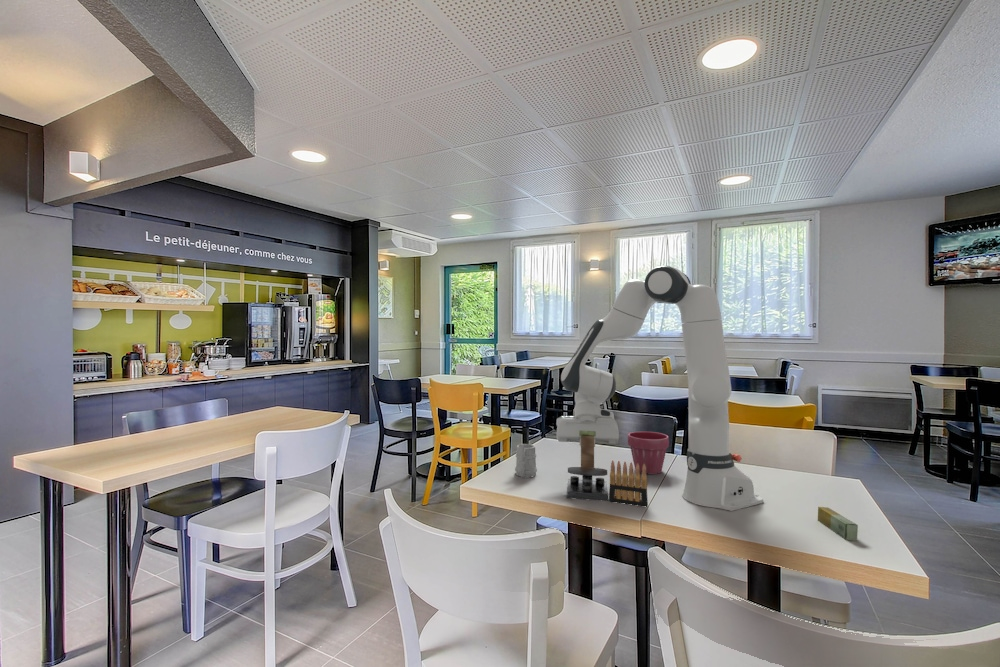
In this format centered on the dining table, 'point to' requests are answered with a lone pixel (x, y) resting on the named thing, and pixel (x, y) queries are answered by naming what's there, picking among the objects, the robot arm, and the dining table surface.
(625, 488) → the ammunition clip
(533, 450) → the mug
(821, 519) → the medication box
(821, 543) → the dining table surface
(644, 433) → the plant pot
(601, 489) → the stand
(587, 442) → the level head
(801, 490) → the dining table surface
